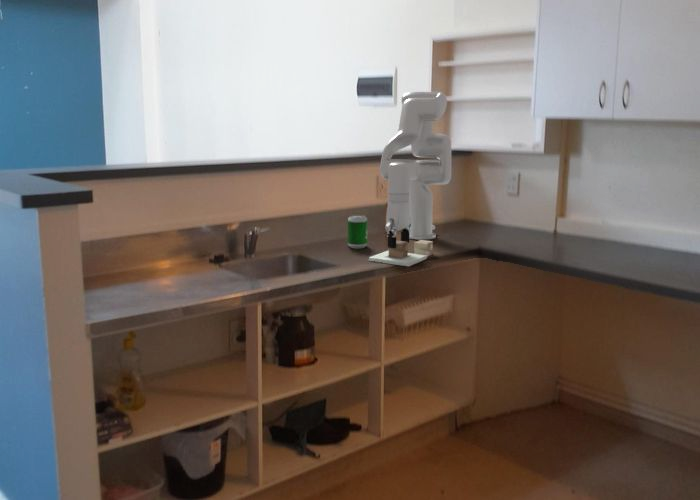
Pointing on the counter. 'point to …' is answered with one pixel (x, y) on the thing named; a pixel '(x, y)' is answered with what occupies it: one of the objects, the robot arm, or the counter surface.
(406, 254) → the walnut cube
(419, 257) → the build board
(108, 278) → the counter surface
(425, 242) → the maple cube
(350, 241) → the soda can
